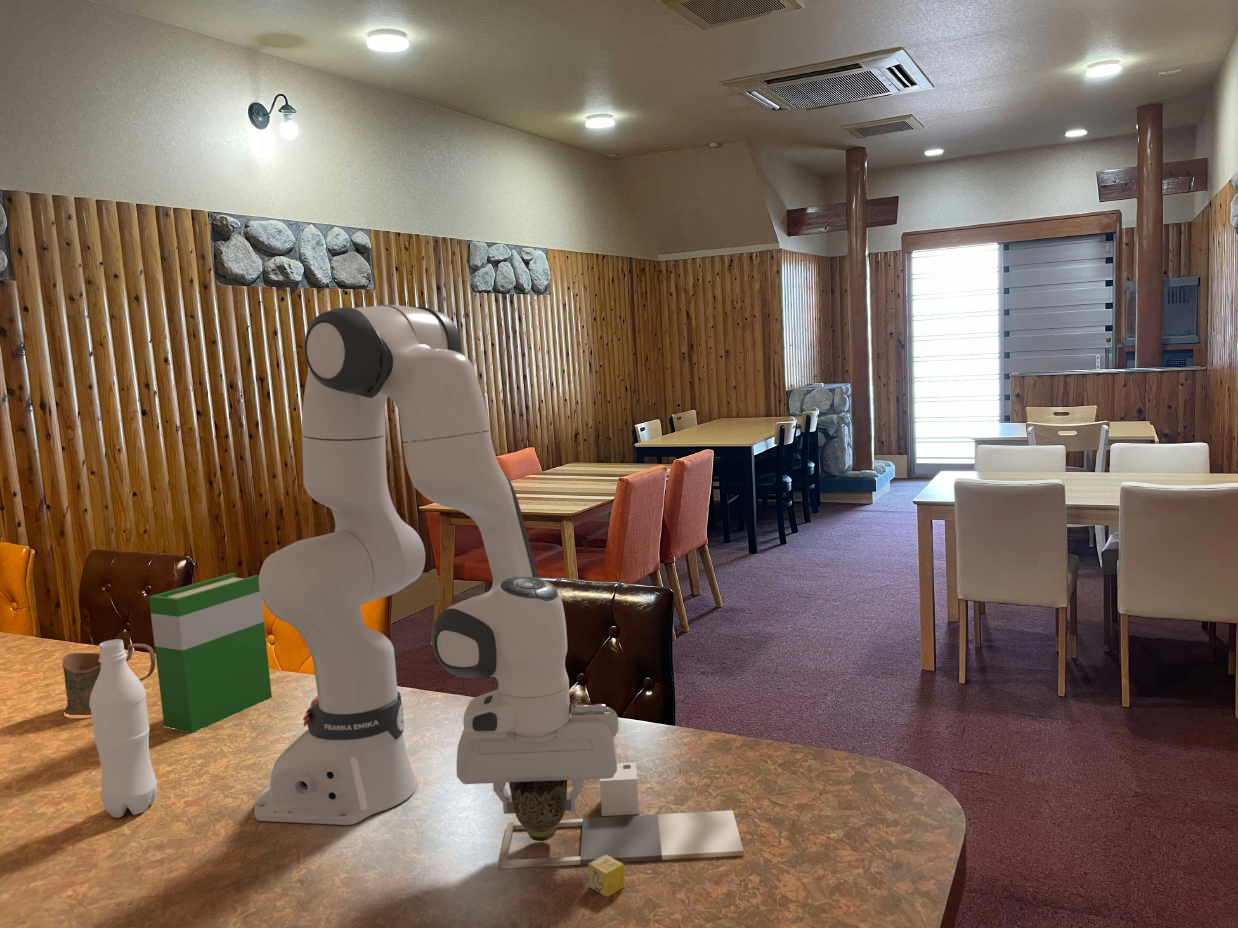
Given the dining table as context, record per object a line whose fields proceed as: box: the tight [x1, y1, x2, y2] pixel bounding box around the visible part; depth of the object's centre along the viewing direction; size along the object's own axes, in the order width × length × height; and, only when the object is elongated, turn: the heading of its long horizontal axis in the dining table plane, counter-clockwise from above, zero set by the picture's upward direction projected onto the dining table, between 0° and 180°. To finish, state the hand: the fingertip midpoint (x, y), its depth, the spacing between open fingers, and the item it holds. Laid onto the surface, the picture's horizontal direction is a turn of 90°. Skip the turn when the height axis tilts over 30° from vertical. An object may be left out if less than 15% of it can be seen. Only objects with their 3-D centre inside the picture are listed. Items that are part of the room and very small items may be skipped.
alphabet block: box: [587, 855, 625, 898], centre depth 106 cm, size 3×3×3 cm
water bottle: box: [89, 638, 158, 819], centre depth 131 cm, size 7×7×25 cm
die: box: [599, 761, 640, 817], centre depth 125 cm, size 5×5×5 cm
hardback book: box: [148, 572, 273, 734], centre depth 168 cm, size 18×7×24 cm, turn 153°
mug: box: [62, 643, 156, 715], centre depth 174 cm, size 12×18×12 cm, turn 89°
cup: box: [508, 780, 568, 842], centre depth 116 cm, size 8×7×8 cm
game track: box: [498, 809, 745, 870], centre depth 116 cm, size 30×10×1 cm, turn 90°
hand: (540, 810), depth 116 cm, fingers closed on cup, 6 cm apart
